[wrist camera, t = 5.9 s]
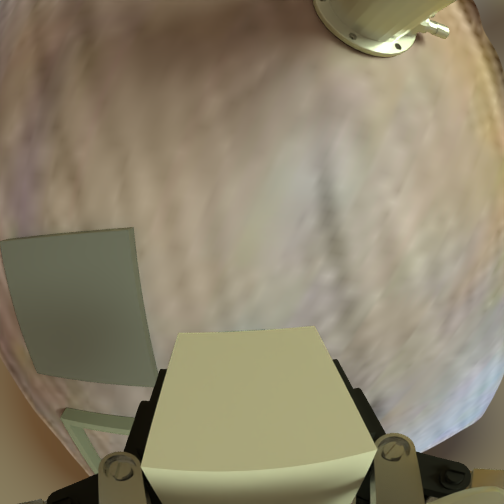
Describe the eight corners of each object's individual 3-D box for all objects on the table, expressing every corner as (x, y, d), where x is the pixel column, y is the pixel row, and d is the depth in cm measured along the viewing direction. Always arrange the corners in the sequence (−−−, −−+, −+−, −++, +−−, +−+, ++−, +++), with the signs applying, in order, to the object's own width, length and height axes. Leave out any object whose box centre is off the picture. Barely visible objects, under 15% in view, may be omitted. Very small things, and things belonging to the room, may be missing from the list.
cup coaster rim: (190, 421, 33) (188, 434, 31) (209, 488, 38) (209, 499, 36) (66, 407, 32) (60, 418, 30) (107, 477, 37) (104, 486, 35)
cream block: (314, 325, 11) (377, 449, 5) (305, 417, 12) (337, 526, 6) (178, 332, 10) (140, 466, 5) (196, 424, 12) (185, 537, 6)
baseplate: (133, 227, 27) (128, 229, 26) (159, 379, 32) (157, 387, 30) (6, 239, 26) (-1, 241, 25) (42, 367, 30) (37, 373, 29)
